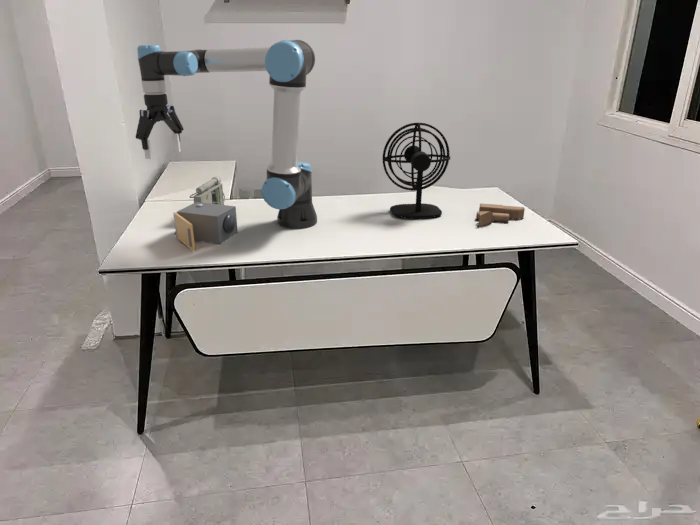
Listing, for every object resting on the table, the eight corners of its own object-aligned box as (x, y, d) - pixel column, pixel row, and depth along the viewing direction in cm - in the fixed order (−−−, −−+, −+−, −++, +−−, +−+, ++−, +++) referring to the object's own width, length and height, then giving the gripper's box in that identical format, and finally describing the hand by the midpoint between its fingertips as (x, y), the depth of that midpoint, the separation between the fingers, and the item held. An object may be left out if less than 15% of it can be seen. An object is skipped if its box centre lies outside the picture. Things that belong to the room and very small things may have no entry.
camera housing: (240, 233, 196) (237, 205, 192) (222, 244, 186) (219, 215, 182) (199, 227, 201) (196, 200, 197) (180, 238, 191) (176, 209, 187)
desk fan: (442, 204, 229) (448, 119, 215) (454, 218, 213) (462, 127, 199) (378, 207, 226) (380, 120, 212) (386, 220, 210) (389, 128, 196)
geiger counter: (202, 188, 199) (229, 172, 222) (186, 187, 200) (214, 171, 223) (205, 224, 205) (232, 205, 227) (190, 223, 206) (217, 204, 228)
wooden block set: (477, 200, 217) (524, 203, 213) (476, 214, 219) (522, 217, 215) (477, 213, 202) (527, 217, 198) (475, 227, 204) (525, 231, 200)
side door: (195, 250, 179) (192, 224, 176) (191, 251, 179) (188, 225, 175) (179, 237, 191) (176, 212, 187) (175, 238, 190) (171, 213, 186)
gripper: (173, 89, 198) (180, 147, 207) (117, 96, 178) (128, 160, 187) (188, 90, 195) (195, 149, 204) (134, 97, 175) (144, 163, 183)
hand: (163, 155), depth 195 cm, fingers open, 13 cm apart
